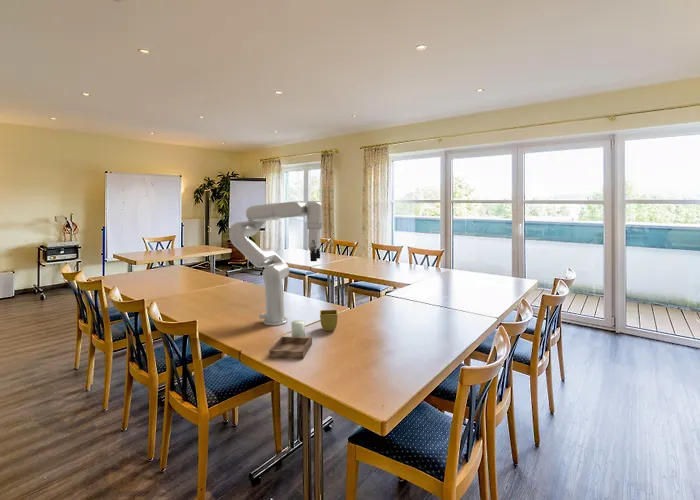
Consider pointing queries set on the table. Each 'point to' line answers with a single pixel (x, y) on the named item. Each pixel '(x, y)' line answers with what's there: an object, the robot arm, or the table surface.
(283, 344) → the tray
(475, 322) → the table surface
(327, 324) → the flower pot
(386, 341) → the table surface
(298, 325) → the white upright rounded piece
